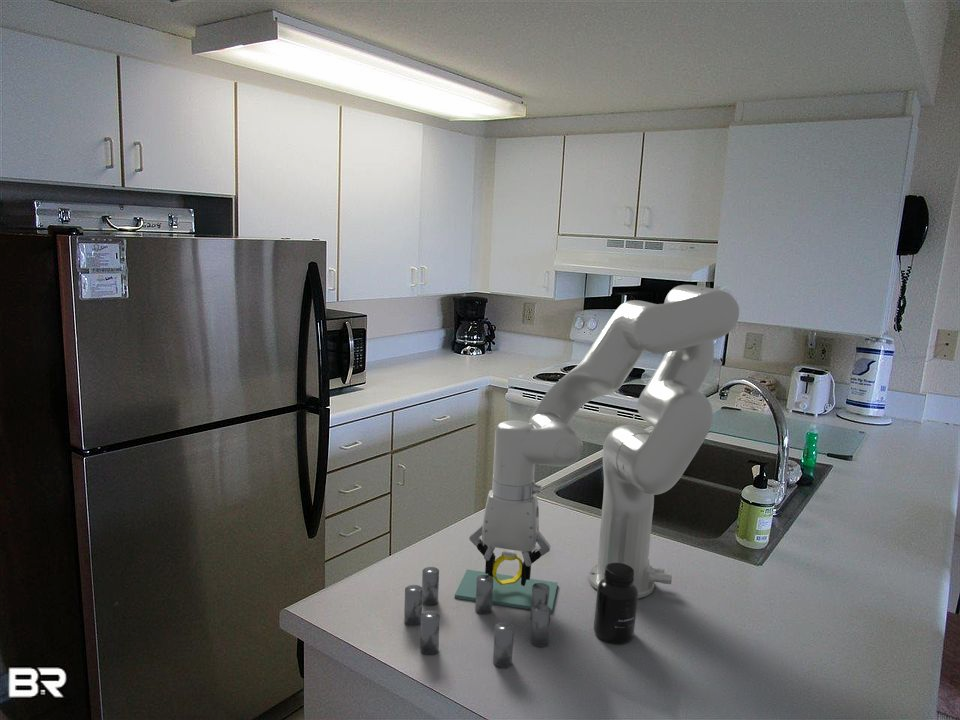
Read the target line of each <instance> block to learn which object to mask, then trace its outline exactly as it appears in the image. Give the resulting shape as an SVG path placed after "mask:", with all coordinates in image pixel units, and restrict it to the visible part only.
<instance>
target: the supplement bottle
mask: <svg viewBox="0 0 960 720" xmlns="http://www.w3.org/2000/svg"><path fill="white" fill-rule="evenodd" d="M633 582H634V569H633V568H631V567H630V566H628V565H626V564H623V563H609V564H607V565H606V568H605V573H604V578H603V579H602V580H601V581H600V582H599V584H598V587H597V589H596V598H595V606H594V607H595V609H594V620H593V631H594V633H595V635H596V636H597V637H598V638H599V639H600V640H602V641H604V642H606V643H608V644H614V645H621V644H622V645H624V644H626V643H629V642H630V641H631V640H632V639H633V637H634V634H635V626H636V618H637V608H638V599H639V598H638V589H637V587H636V586H635V584H634V583H633Z"/></svg>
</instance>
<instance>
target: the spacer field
mask: <svg viewBox="0 0 960 720" xmlns="http://www.w3.org/2000/svg"><path fill="white" fill-rule="evenodd" d="M421 575H422V577H421V580H422V581H421V585H418V584H410V585H407V586H406V587H405V588H404V610H403V611H404V614H403V615H404V618H403V619H404V621H403V623H404V624H405V625H407V626H409V627H417V626H419V625H420V638H419V639H420V641H419V651H420V653H421V654H422V655H425V656H434V655H436V654H437V653H438V652H439V650H440V649H439V647H440V624H441V623H440V622H441V621H440V619H441V614H440V613H439V612H438V611H436V610H426V611H423V605H424V606H427V607H429V606H430V607H432V606H436V605H437V604H438V603H439V589H440V587H439V586H440V582H439V581H440V570H439V568H437V567H434V566H427V567H424V568H423V569H422V574H421ZM549 589H550V587H549V586H548V585H547V584H544V583H535V584H534V585H533V586H532V601H531V609H530V617H529V618H530V620H531V627H530V628H531V629H530V630H531V631H530V644H531V645H532V646H534V647H536V648H540V649H541V648H545V647H548V645H549V642H550V641H549V640H550V631H551V629H550V627H551V615H552V613H551V609H550V607H549V606H548V604H549ZM492 598H493V577H491V576H489V575H480V576H478V577H477V581H476V601H474V602H475V604H474V605H475V606H474V611H475V612H476V613H477V614H479V615H489V614H491V613H492V611H493V604H492ZM514 631H515V627H514V625H512V623H509V622H505V621H503V622H501V621H500V622H498V623H496V624H495V625H494V633H493V634H494V635H493V637H494V638H493V655H492V656H493V657H492V664H493V665H494V667H497V668H500V669H507V668H510V667H511V666H512V665H513V650H514V635H515V634H514V633H515V632H514Z"/></svg>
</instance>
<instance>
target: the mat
mask: <svg viewBox="0 0 960 720" xmlns="http://www.w3.org/2000/svg"><path fill="white" fill-rule="evenodd" d="M480 575H488V574H485V571H480V570H475V569H474V570H473V569H468V568H467V569H466V571H465V573H464V574H463V577H462V579H461V580H460V582H459V585H458V587H457V589H456V591H455V594H454V599H461V600H467V601H474V602H476V581H477V577H478V576H480ZM496 576H497V579H499V580H500V581H501V580H507V579H512V578H513V577H514V576H515V575H508V574H501V573H500V574H499V573H496ZM535 583H544V584H547V585H548V586H549V587H550V589H549V604H548V606H549V607H550V609H551V614H552V613H553V610H554V609H553V607H554V603H555V600H556V594H557V589H558V584H559V583H558V582H557V581H556V582H555V581H548V580H544V579H543V580H542V579H536V578H530V580H526V584H525V586H522V585H521V578H520V579H519V580H518V581H517V582H516V583H513V584H506V585H500V584H499V583H498V582H497V581H496V580H495V579H494V577H493V598H492V605H499V606H505V607H512V608H518V609H519V608H520V609H524V610H525V609H526V610H531V601H532V586H533V585H534V584H535Z"/></svg>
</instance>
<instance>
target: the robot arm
mask: <svg viewBox="0 0 960 720" xmlns="http://www.w3.org/2000/svg"><path fill="white" fill-rule="evenodd" d="M739 317H740V308H739V304H738V302H737V300H736V298H735V297H734V296H733V295H732V294H731V293H729V292H727V291H725V290H721V289H718V288H712V287H711V288H710V287H706V286H701V285H696V284H695V285H694V284H681V285H677V286H674V287H673V288H672V289H671V290H669V292H668V293H667V295H666V297H665V299H664V302H663V303H658V304H657V303H653V302H649V301H644V300H638V299H637V300H636V299H634V300H627V301H625V302H623V303H621V304H620V305H619V306H618V307H617V308H616V310H615V311H614V312H613V313H612V315H611V316H610V317H609V319H608V321H607V322H606V323H605V325H604V327H603V328H602V330H601V331H600V333H599V334H598V335H597V337H596V339H595V340H594V341H593V343H592V345H591V346H590V348H589V349H588V350H587V352H586V353H585V354H584V356H583V358H582V360H581V361H580V362H579V363H578V364H577V365H576V366H575V367H574V368H573V369H571V370H569V371H568V372H567V373H566V374H565V375H564V376H562V377H561V378H560V379H559V380H558V381H556V382H555V384H553V385H552V386H551V387H550V388H549V389H548V390H547V392H546V393H545V394H544V396H543V397H542V398H541V400H540V401H539V403H538V405H537V406H536V408H535V409H534V411H533V412H532V413H531V416H530V417H529V420H528V421H524V420H517V419H511V420H509V419H508V420H505V421H502V422H500V423H498V424H497V425H496V428H495V431H494V433H495V434H494V451H493V466H492V467H493V468H492V469H493V470H492V483H491V484H492V486H491V487H492V489H490V490H489V491H488V494H487V499H486V503H485V509H484V515H483V522H482V524H481V525H480V526H479V527H478V528H477V529H475V530H474V531H473V532H472V533H470V535H469V537H468V538H469V539H468V540H469V541H470V542H471V543H472V544H473V545H474V546H475V547H476V548H477V551H479V553H480V554H481V555H482V556H483V558H484V559H483V560H485V566H484V570H485V571H484V572H485V574H488V575H489V576H491V577H493V574H492V568H493V564H494V562H495V561H496V555H495V552H494V550H495V549H503V550H508V551H516V552H520V553H521V554H522V558H523V561H522V562H523V565H522V575H521V585H522V586H525V584H526V580H530V579H531V575H532V574H531V573H532V572H531V570H532V565H533V564H534V563H535V562H536V561H538V560H539V559H540V558H541V557H542V556H544V555H545V554H548V552H550V551H551V544H550V543H549V541H547V540H546V538H545V537H544V536H543V534H542V533H541V532H540V530H539V528H540V525H539V524H540V515H539V514H540V511H539V501H538V495H537V493H539V494H541V493H542V488H543V487H542V485H539V484H537V483H536V482H535V470H536V469H535V467H536V465H541V466H542V465H543V466H548V467H560V468H561V467H566V466H570V465H573V464H574V463H576V462H577V461H579V458H580V457H581V456H582V453H583V448H584V447H583V441H582V438H581V436H580V434H578V432H577V431H576V430H575V429H573V428H572V427H571V426H570V425H569V424H570V422H571V421H572V419H573V418H574V416H575V415H576V413H577V412H579V410H580V409H581V408H582V407H584V406H585V405H586V404H587V403H589V402H591V401H592V400H594V399H597V398H600V397H604V396H608V395H610V394H613V393H615V392H617V391H619V390H620V388H621V387H622V386H623V383H624V382H625V381H626V379H627V378H628V376H629V375H630V373H631V372H632V371H633V369H634V368H635V366H636V364H637V363H638V362H639V360H640V359H641V358H642V356H643V355H644V353H647V354H650V355H651V354H652V355H660V354H661V355H662V354H664V355H663V358H662V360H661V361H660V363H659V364H658V366H657V367H656V369H655V371H654V373H653V374H652V376H651V377H650V379H649V380H648V382H647V384H646V385H645V387H644V388H643V389H642V391H641V393H640V395H639V397H638V400H637V412H638V414H639V416H640V418H642V419H643V420H644V422H646V423H647V424H648V425H650V426H652V427H653V428H652V431H650V432H649V431H647V430H646V429H644V428H642V427H640V426H638V425H633V424H623V425H619V426H617V427H615V428H613V429H612V430H611V431H610V432H609V433H608V434H607V436H606V438H605V440H604V443H603V445H602V446H603V447H602V470H603V471H602V472H603V495H602V497H603V498H602V507H601V518H600V520H601V521H600V531H599V541H598V544H599V545H598V553H597V554H598V556H597V565H595V566H593V567H591V569H590V570H589V571H588V582H589V584H590V585H591V586H592V587H593V588H594V589H595V590H597V587H598V584H599V582H600V581H601V580H602V579H603V578H604V573H605V568H606V565H607V564H609V563H623V564H626V565H628V566H630V567H631V568H633V569H634V582H633V583H634V584H635V586H636V587H637V589H638V599H641V598H645V597H647V596H649V595H650V594H651V593H652V592H653V591H654V588H655V583H660V584H662V585H663V584H664V585H672V579H673V578H672V577H673V576H672V573H665V568H662V567H653V565H650V559H649V556H650V545H651V544H650V542H651V535H652V526H653V525H652V523H653V516H654V515H653V513H654V504H655V496H656V495H661V494H663V493H666V492H668V491H669V490H671V489H672V488H673V487H674V486H675V485H676V484H677V482H678V481H680V479H681V478H682V476H683V475H684V473H685V471H686V470H687V468H688V467H689V465H690V463H691V462H692V460H693V459H694V457H695V456H696V454H697V453H698V451H699V449H700V447H701V446H702V445H703V443H704V441H705V440H706V438H707V436H708V434H709V432H710V430H711V427H712V423H713V417H714V414H713V412H714V411H713V406H712V403H711V402H710V399H708V398H707V396H705V394H704V393H702V392H701V391H699V390H700V388H701V387H702V385H703V383H704V381H705V380H706V377H707V376H708V374H709V372H710V371H711V367H712V365H713V362H714V356H715V355H714V354H715V344H714V340H718V339H720V338H722V337H724V336H727V335H728V334H729V333H730V332H732V330H734V328H735V326H736V325H737V323H738V320H739ZM537 544H538V545H539V548H536V546H537Z"/></svg>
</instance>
